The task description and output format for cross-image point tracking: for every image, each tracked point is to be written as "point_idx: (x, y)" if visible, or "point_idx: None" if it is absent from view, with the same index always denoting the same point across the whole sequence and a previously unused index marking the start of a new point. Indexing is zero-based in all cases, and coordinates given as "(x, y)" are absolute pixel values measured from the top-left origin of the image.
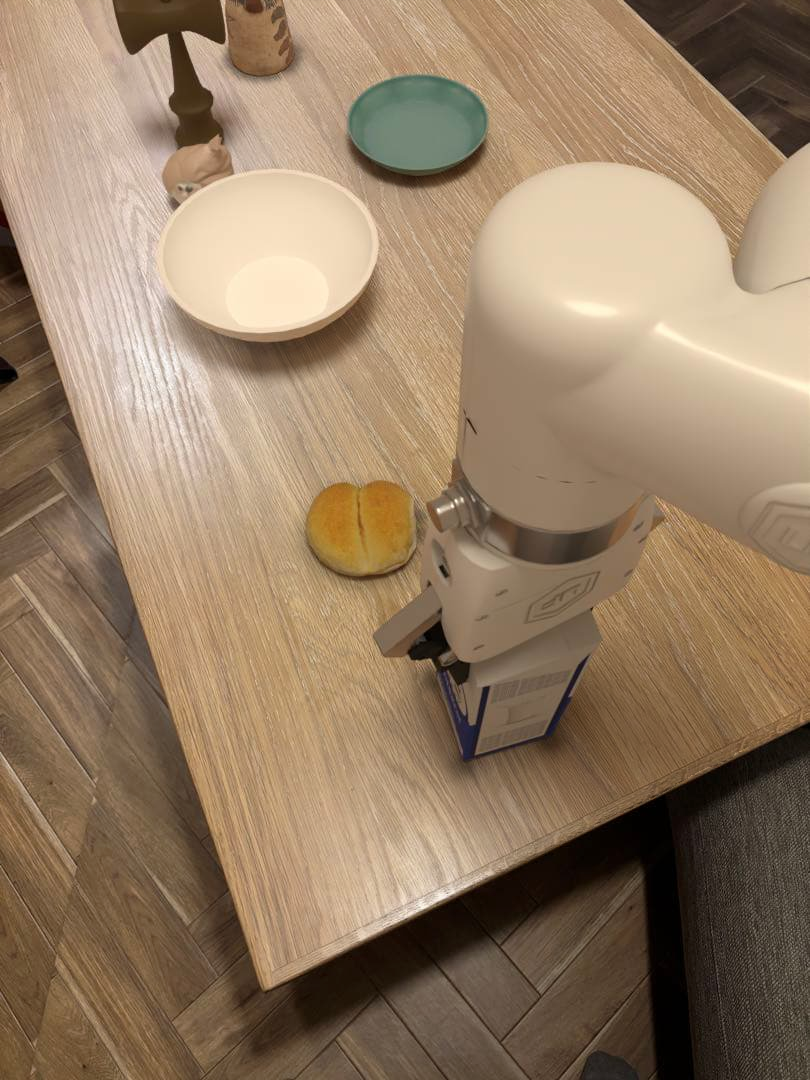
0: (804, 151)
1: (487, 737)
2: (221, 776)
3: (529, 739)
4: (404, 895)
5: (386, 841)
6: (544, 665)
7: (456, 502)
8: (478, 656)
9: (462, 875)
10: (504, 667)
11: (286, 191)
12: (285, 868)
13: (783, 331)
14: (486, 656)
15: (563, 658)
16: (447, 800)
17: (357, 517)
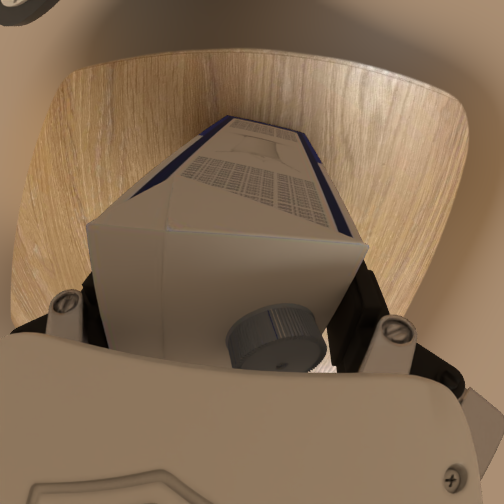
0: None
1: (292, 140)
2: (437, 221)
3: (247, 120)
4: (392, 82)
5: (384, 119)
6: (234, 224)
7: None
8: (444, 421)
9: (349, 66)
10: (311, 259)
11: None
12: (442, 149)
13: None
14: (418, 400)
15: (186, 220)
16: (329, 116)
17: None
